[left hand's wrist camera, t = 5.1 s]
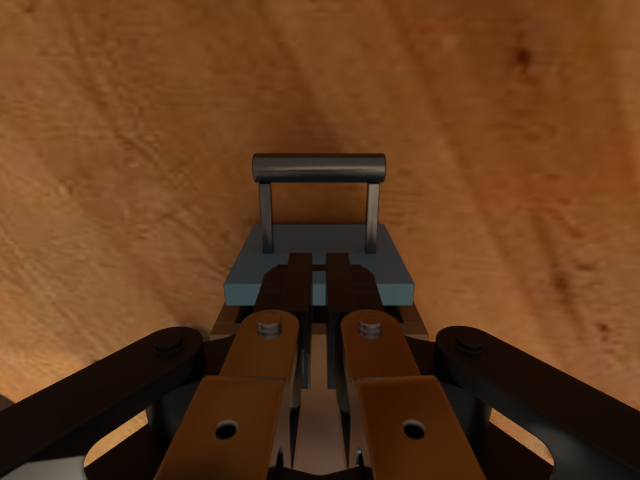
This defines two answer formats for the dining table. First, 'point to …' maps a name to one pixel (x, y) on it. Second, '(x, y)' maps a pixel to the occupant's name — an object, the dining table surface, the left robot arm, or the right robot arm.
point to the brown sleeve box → (319, 389)
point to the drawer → (319, 230)
